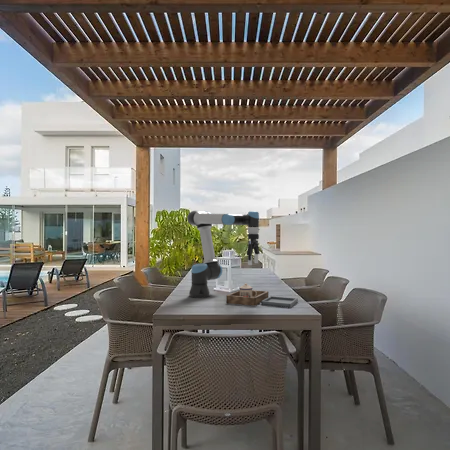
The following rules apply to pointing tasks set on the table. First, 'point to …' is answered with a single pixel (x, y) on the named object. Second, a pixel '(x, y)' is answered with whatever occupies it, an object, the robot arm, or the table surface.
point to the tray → (279, 301)
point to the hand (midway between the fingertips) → (253, 264)
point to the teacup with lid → (246, 291)
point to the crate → (246, 298)
